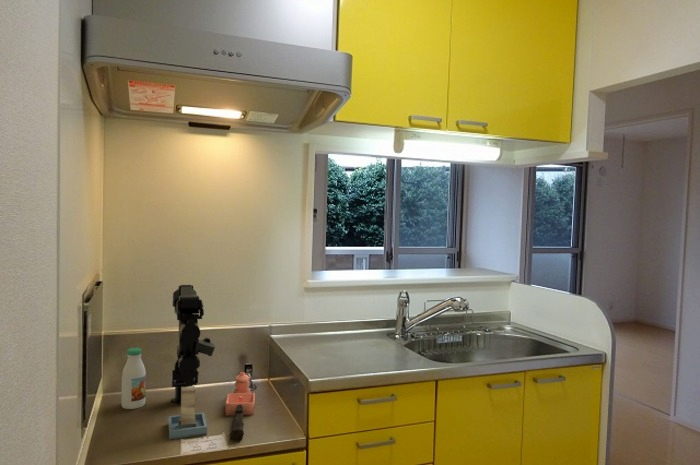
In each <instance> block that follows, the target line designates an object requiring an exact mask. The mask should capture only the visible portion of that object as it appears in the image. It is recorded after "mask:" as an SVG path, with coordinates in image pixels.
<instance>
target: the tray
mask: <svg viewBox="0 0 700 465" xmlns="http://www.w3.org/2000/svg"><path fill="white" fill-rule="evenodd" d="M179 419H181V414H180V415H179V414H177V415H171V416H168V422H167V424H168V437H169V438H168V439H169V440H177V439H183V438H184V439H185V438H191V437H200V436H207V435H208V425H207V421H206V416H205V412H198V413H197V412H195V419H196V427H192V428H184V429H179Z"/></svg>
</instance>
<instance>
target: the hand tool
mask: <svg viewBox="0 0 700 465" xmlns="http://www.w3.org/2000/svg"><path fill="white" fill-rule="evenodd" d="M231 429H232V430H231V431H230V434H229V440H230V441H231V442H240V441H242V440H243V439H244V434H245V431H244V415H243V406H242V405H241V404H240V405H237V407H236V410H235V415H234V419H233V424H232V428H231Z"/></svg>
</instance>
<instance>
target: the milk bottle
mask: <svg viewBox="0 0 700 465" xmlns="http://www.w3.org/2000/svg"><path fill="white" fill-rule="evenodd" d="M126 352H127V353H126V354H127V355H126V357H127V361H126V363H125V365H124V367H123V368H122V372H121V374H122V375H121V400H120V401H121V408H123V409H125V410H136V409H139V408H142V407H143V406H145V404H146V394H147V393H146V388H147V387H146V386H147V385H146V384H147V378H146V377H147V372H146V367H145V365H144V362H143V360H142V352H143V351H142V348H140V347H131V348H129V349H127V351H126Z"/></svg>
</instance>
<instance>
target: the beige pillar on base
mask: <svg viewBox="0 0 700 465" xmlns="http://www.w3.org/2000/svg"><path fill="white" fill-rule="evenodd" d="M195 399H196V385H193V386H187V387H181V405H180V415H181V419H179V429H184V428H192V427H196V419H195V413H196V401H195Z"/></svg>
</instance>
